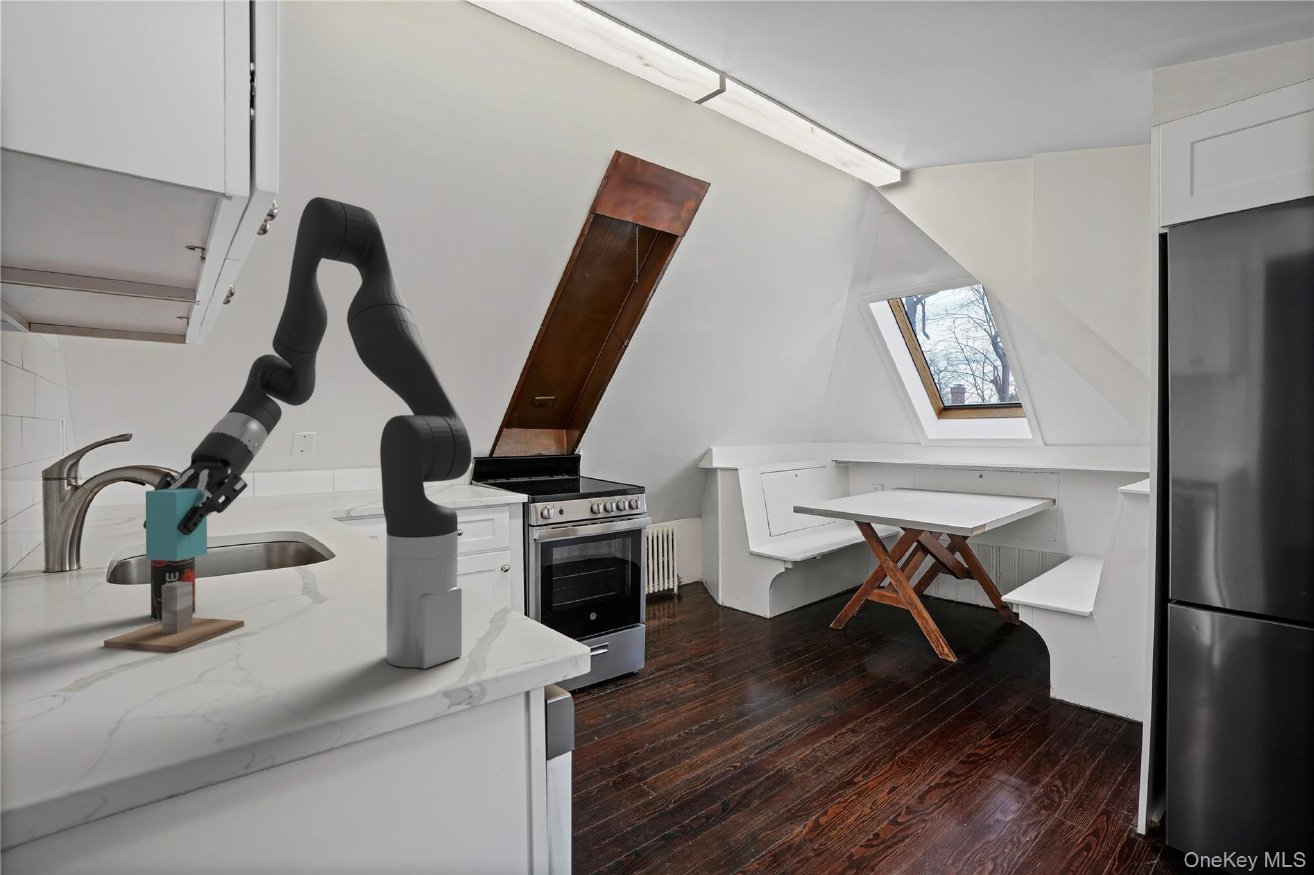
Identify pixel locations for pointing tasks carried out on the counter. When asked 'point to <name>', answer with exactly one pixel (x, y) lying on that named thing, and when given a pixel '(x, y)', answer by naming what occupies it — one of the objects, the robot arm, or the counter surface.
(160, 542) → the teal block
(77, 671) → the counter surface
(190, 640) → the post board
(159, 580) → the deodorant
